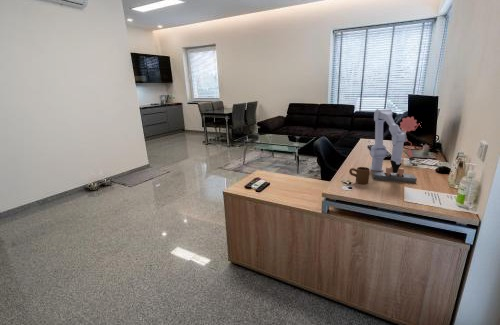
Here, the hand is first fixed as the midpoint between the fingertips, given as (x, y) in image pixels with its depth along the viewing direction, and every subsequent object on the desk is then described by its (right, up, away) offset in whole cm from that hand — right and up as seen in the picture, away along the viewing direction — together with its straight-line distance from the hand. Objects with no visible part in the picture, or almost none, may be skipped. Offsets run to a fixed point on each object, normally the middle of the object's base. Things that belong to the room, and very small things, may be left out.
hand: (394, 172), depth 164 cm
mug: (-25, -7, -2) cm, 26 cm away
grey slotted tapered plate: (0, -5, +1) cm, 5 cm away
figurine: (+37, +10, +50) cm, 63 cm away
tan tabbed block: (0, -4, +1) cm, 4 cm away
